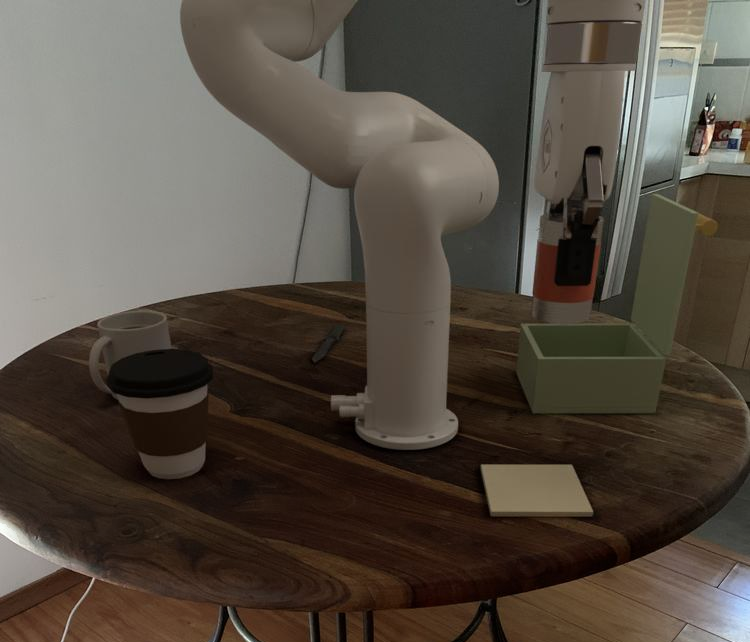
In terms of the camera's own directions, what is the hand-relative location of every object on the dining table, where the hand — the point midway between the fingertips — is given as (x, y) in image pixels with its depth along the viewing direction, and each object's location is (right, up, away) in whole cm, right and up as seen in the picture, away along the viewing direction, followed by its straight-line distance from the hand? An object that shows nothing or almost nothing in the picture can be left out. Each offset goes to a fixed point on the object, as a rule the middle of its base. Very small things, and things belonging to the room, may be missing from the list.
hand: (564, 274), depth 69 cm
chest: (+10, -6, +31) cm, 33 cm away
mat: (-1, -20, +8) cm, 22 cm away
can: (0, -3, +2) cm, 4 cm away
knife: (-25, +4, +49) cm, 56 cm away
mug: (-51, -6, +33) cm, 61 cm away
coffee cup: (-40, -18, +13) cm, 46 cm away
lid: (+18, +7, +23) cm, 30 cm away
